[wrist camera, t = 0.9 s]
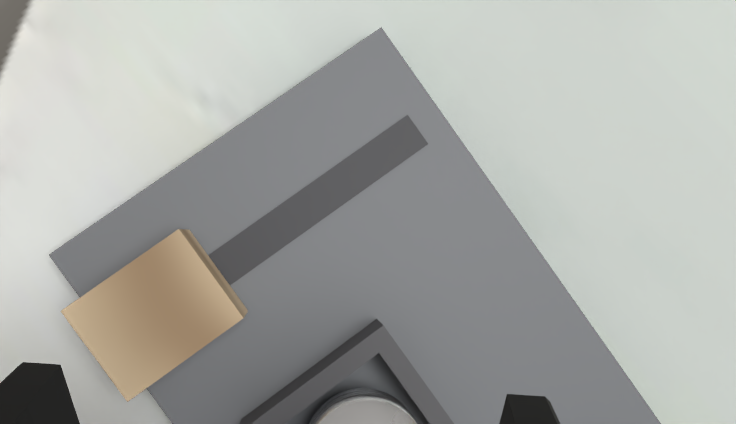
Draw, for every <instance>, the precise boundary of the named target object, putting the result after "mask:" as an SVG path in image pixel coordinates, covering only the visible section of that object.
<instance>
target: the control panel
mask: <svg viewBox="0 0 736 424" xmlns="http://www.w3.org/2000/svg"><path fill="white" fill-rule="evenodd" d="M178 229H187V230H190V231H191V232H192V234H193V235H194V237H195V238H196V239H197V241H198V242H199V244H200V245H201V246H202V248H203V249H204V250H205V252H206V253H207V255H208V256H209V257H210V259H211V260H212V261H213V263H214V264H215V266H216V267H217V268H218V270H219V271H220V273H221V274H222V275H223V277H224V278H225V279H226V281H227V282H228V284H229V285H230V286H231V288H232V289H233V290H234V292H235V293H236V295H237V296H238V297H239V299H240V300H241V301H242V303H243V304H244V306H245V307H246V308H247V310H248V312H247V314H246V315H245V317H244V318H243V319H242V320H240V321H239V322H238V323H236V324H235V325H233V326H232V327H231V328H229V329H228V330H226V331H225V332H224V333H222V334H221V335H220V336H218V337H217V338H215V339H214V340H213V341H211V342H210V343H208V344H207V345H206V346H204V347H203V348H202V349H200V350H199V351H197V352H196V353H195V354H193V355H192V356H190V357H189V358H188V359H186V360H185V361H184V362H182V363H181V364H179V365H178V366H177V367H175V368H174V369H172V370H171V371H170V372H168V373H167V374H166V375H164V376H163V377H161V378H160V379H159V380H157V381H156V382H154V383H153V384H152V385H150V386H149V387H148V388H147V389H148V391H149V392H150V394H151V395H152V396H153V398H154V399H155V400H156V402H157V403H158V404H159V406H160V407H161V409H162V410H163V411H164V413H165V414H166V415H167V417H168V418H169V419H170V421H171V422H172V424H309V423H310V421H311V419H312V417H313V416H314V414H315V413H316V411H317V410H318V409H319V408H320V407H321V406H322V405H323V404H324V403H325V402H326V401H327V400H329V399H330V398H332V397H333V396H335V395H337V394H339V393H341V392H344V391H347V390H350V389H356V388H372V389H376V390H380V391H383V392H386V393H388V394H390V395H392V396H393V397H395V398H396V399H398V400H399V401H400V402H401V403H402V404H403V405H404V406H405V407H406V408H407V409H408V411H409V412H410V414H411V415H412V417H413V418H414V420H415V421H416V423H417V424H499V423H500V419H501V415H502V411H503V407H504V403H505V400H506V396H507V394H516V395H531V396H545V397H546V398H547V399H548V400H549V401H550V402H551V405H552V407H553V409H554V411H555V413H556V415H557V418H558V420H559V422H560V424H661V423H660V422H659V420H658V419H657V417H656V416H655V415H654V413H653V412H652V410H651V409H650V407H649V406H648V405H647V403H646V402H645V400H644V399H643V398H642V396H641V395H640V393H639V392H638V390H637V389H636V388H635V386H634V385H633V383H632V382H631V381H630V379H629V378H628V376H627V375H626V373H625V372H624V371H623V369H622V368H621V366H620V365H619V364H618V362H617V361H616V359H615V358H614V356H613V355H612V354H611V352H610V351H609V349H608V348H607V347H606V345H605V344H604V342H603V341H602V339H601V338H600V337H599V335H598V334H597V332H596V331H595V329H594V328H593V327H592V325H591V324H590V322H589V321H588V320H587V318H586V317H585V315H584V314H583V312H582V311H581V310H580V308H579V307H578V305H577V304H576V303H575V301H574V300H573V298H572V297H571V295H570V294H569V293H568V291H567V290H566V288H565V287H564V286H563V284H562V283H561V281H560V280H559V278H558V277H557V276H556V274H555V273H554V271H553V270H552V269H551V267H550V266H549V264H548V263H547V261H546V260H545V259H544V257H543V256H542V254H541V253H540V252H539V250H538V249H537V247H536V246H535V244H534V243H533V242H532V240H531V239H530V237H529V236H528V235H527V233H526V232H525V230H524V229H523V227H522V226H521V225H520V223H519V222H518V220H517V219H516V218H515V216H514V215H513V213H512V212H511V210H510V209H509V208H508V206H507V205H506V203H505V202H504V201H503V199H502V198H501V196H500V195H499V193H498V192H497V191H496V189H495V188H494V186H493V185H492V184H491V182H490V181H489V179H488V178H487V176H486V175H485V174H484V172H483V171H482V169H481V168H480V167H479V165H478V164H477V162H476V161H475V159H474V158H473V157H472V155H471V154H470V152H469V151H468V149H467V148H466V147H465V145H464V144H463V142H462V141H461V140H460V138H459V137H458V135H457V134H456V132H455V131H454V130H453V128H452V127H451V125H450V124H449V123H448V121H447V120H446V118H445V117H444V115H443V114H442V113H441V111H440V110H439V108H438V107H437V106H436V104H435V103H434V101H433V100H432V98H431V97H430V96H429V94H428V93H427V91H426V90H425V89H424V87H423V86H422V84H421V83H420V81H419V80H418V79H417V77H416V76H415V74H414V73H413V72H412V70H411V69H410V67H409V66H408V64H407V63H406V62H405V60H404V59H403V57H402V56H401V55H400V53H399V52H398V50H397V49H396V47H395V46H394V45H393V43H392V42H391V40H390V39H389V38H388V36H387V35H386V33H385V32H384V30H383V29H382V28H379V29H378V30H377V31H375V32H374V33H372V34H371V35H369V36H368V37H366V38H365V39H363V40H362V41H360V42H359V43H358V44H356V45H355V46H353V47H352V48H350V49H349V50H347V51H346V52H344V53H343V54H341V55H340V56H339V57H337V58H336V59H334V60H333V61H331V62H330V63H328V64H327V65H325V66H324V67H322V68H321V69H320V70H318V71H317V72H315V73H314V74H312V75H311V76H309V77H308V78H306V79H305V80H303V81H302V82H301V83H299V84H298V85H296V86H295V87H293V88H292V89H290V90H289V91H287V92H286V93H284V94H283V95H282V96H280V97H279V98H277V99H276V100H274V101H273V102H271V103H270V104H268V105H267V106H265V107H264V108H263V109H261V110H260V111H258V112H257V113H255V114H254V115H252V116H251V117H249V118H248V119H246V120H245V121H244V122H242V123H241V124H239V125H238V126H236V127H235V128H233V129H232V130H230V131H229V132H227V133H226V134H225V135H223V136H222V137H220V138H219V139H217V140H216V141H214V142H213V143H211V144H210V145H208V146H207V147H206V148H204V149H203V150H201V151H200V152H198V153H197V154H195V155H194V156H192V157H191V158H189V159H188V160H187V161H185V162H184V163H182V164H181V165H179V166H178V167H176V168H175V169H173V170H172V171H170V172H169V173H168V174H166V175H165V176H163V177H162V178H160V179H159V180H157V181H156V182H154V183H153V184H151V185H150V186H149V187H147V188H146V189H144V190H143V191H141V192H140V193H138V194H137V195H135V196H134V197H132V198H131V199H130V200H128V201H127V202H125V203H124V204H122V205H121V206H119V207H118V208H116V209H115V210H113V211H112V212H111V213H109V214H108V215H106V216H105V217H103V218H102V219H100V220H99V221H97V222H96V223H94V224H93V225H92V226H90V227H89V228H87V229H86V230H84V231H83V232H81V233H80V234H78V235H77V236H75V237H74V238H73V239H71V240H70V241H68V242H67V243H65V244H64V245H62V246H61V247H59V248H58V249H56V250H55V251H54V252H52V253H51V254H49V256H50V257H51V259H52V260H53V261H54V263H55V264H56V265H57V267H58V268H59V270H60V271H61V272H62V274H63V275H64V276H65V278H66V279H67V280H68V282H69V283H70V284H71V286H72V287H73V289H74V290H75V291H76V293H77V294H78V295H79V297H82V296H83V295H85V294H86V293H87V292H89V291H90V290H92V289H93V288H95V287H96V286H97V285H99V284H100V283H102V282H103V281H105V280H106V279H108V278H109V277H110V276H112V275H113V274H115V273H116V272H118V271H119V270H120V269H122V268H123V267H125V266H126V265H128V264H129V263H131V262H132V261H133V260H135V259H136V258H138V257H139V256H141V255H142V254H143V253H145V252H146V251H148V250H149V249H151V248H152V247H153V246H155V245H156V244H158V243H159V242H161V241H162V240H164V239H165V238H166V237H168V236H169V235H171V234H172V233H174V232H175V231H176V230H178Z"/></svg>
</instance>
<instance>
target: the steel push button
mask: <svg viewBox="0 0 736 424" xmlns="http://www.w3.org/2000/svg"><path fill="white" fill-rule="evenodd" d="M309 424H417V423H416V421H415V420H414V418H413V417H412V415H411V414H410V412H409V411H408V409H407V408H406V407H405V406H404V405H403V404H402V403H401V402H400V401H399V400H398V399H396V398H395V397H393V396H392V395H390V394H388V393H386V392H383V391H380V390H376V389H372V388H356V389H350V390H347V391H344V392H341V393H339V394H337V395H335V396H333V397H332V398H330V399H329V400H327V401H326V402H325V403H324V404H323V405H322V406H321V407H320V408H319V409H318V410H317V411H316V413H315V414H314V416H313V417H312V419H311V421H310V423H309Z"/></svg>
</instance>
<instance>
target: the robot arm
mask: <svg viewBox="0 0 736 424" xmlns="http://www.w3.org/2000/svg"><path fill="white" fill-rule="evenodd" d="M0 424H80V423H79V420H78V417H77V414H76V411H75V408H74V405H73V402H72V399H71V396H70V393H69V390H68V387H67V384H66V381H65V378H64V374H63V371H62V368H61V365H56V364H41V363H26V362H23V363H22V364H20V365H19V366H18V367H17V368H16V369H15V370H14V371H13V372H12V373H11V374H10V375H8V376H7V377H6V378H5V379H4V380H3V381H2V382H1V383H0ZM499 424H560V422H559V420H558V418H557V415H556V413H555V411H554V409H553V407H552V405H551V402H550V401H549V400H548V399H547V398H546V397H545V396H531V395H516V394H507V396H506V400H505V403H504V407H503V411H502V415H501V419H500V423H499Z"/></svg>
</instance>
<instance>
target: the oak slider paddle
mask: <svg viewBox="0 0 736 424" xmlns="http://www.w3.org/2000/svg"><path fill="white" fill-rule="evenodd" d="M61 312H62V314H63V315H64V316H65V318H66V319H67V321H68V322H69V323H70V325H71V326H72V327H73V329H74V330H75V331H76V333H77V334H78V336H79V337H80V338H81V340H82V341H83V342H84V344H85V345H86V346H87V348H88V349H89V350H90V352H91V353H92V355H93V356H94V357H95V359H96V360H97V361H98V363H99V364H100V365H101V367H102V368H103V370H104V371H105V372H106V374H107V375H108V376H109V378H110V379H111V380H112V382H113V383H114V384H115V386H116V387H117V389H118V390H119V391H120V393H121V394H122V395H123V397H124V398H125V399H126V401H127V402H128V401H130V400H131V399H132V398H134V397H135V396H136V395H138V394H139V393H141V392H142V391H143V390H145V389H146V388H148V387H149V386H150V385H152V384H153V383H154V382H156V381H157V380H159V379H160V378H161V377H163V376H164V375H166V374H167V373H168V372H170V371H171V370H172V369H174V368H175V367H177V366H178V365H179V364H181V363H182V362H184V361H185V360H186V359H188V358H189V357H190V356H192V355H193V354H195V353H196V352H197V351H199V350H200V349H202V348H203V347H204V346H206V345H207V344H208V343H210V342H211V341H213V340H214V339H215V338H217V337H218V336H220V335H221V334H222V333H224V332H225V331H226V330H228V329H229V328H231V327H232V326H233V325H235V324H236V323H238V322H239V321H240V320H242V319H243V318H244V317H245V315H246V314H247V312H248V310H247V308H246V307H245V306H244V304H243V303H242V301H241V300H240V299H239V297H238V296H237V295H236V293H235V292H234V290H233V289H232V288H231V286H230V285H229V284H228V282H227V281H226V279H225V278H224V277H223V275H222V274H221V273H220V271H219V270H218V268H217V267H216V266H215V264H214V263H213V261H212V260H211V259H210V257H209V256H208V255H207V253H206V252H205V250H204V249H203V248H202V246H201V245H200V244H199V242H198V241H197V239H196V238H195V237H194V235H193V234H192V232H191V231H190V230H187V229H178V230H176V231H175V232H174V233H172V234H171V235H169V236H168V237H166V238H165V239H164V240H162V241H161V242H159V243H158V244H156V245H155V246H153V247H152V248H151V249H149V250H148V251H146V252H145V253H143V254H142V255H141V256H139V257H138V258H136V259H135V260H133V261H132V262H131V263H129V264H128V265H126V266H125V267H123V268H122V269H120V270H119V271H118V272H116V273H115V274H113V275H112V276H110V277H109V278H108V279H106V280H105V281H103V282H102V283H100V284H99V285H97V286H96V287H95V288H93V289H92V290H90V291H89V292H87V293H86V294H85V295H83V296H82V297H80V298H79V299H77V300H76V301H74V302H73V303H72V304H70V305H69V306H67V307H66V308H64V309H63V310H62V311H61Z"/></svg>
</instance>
